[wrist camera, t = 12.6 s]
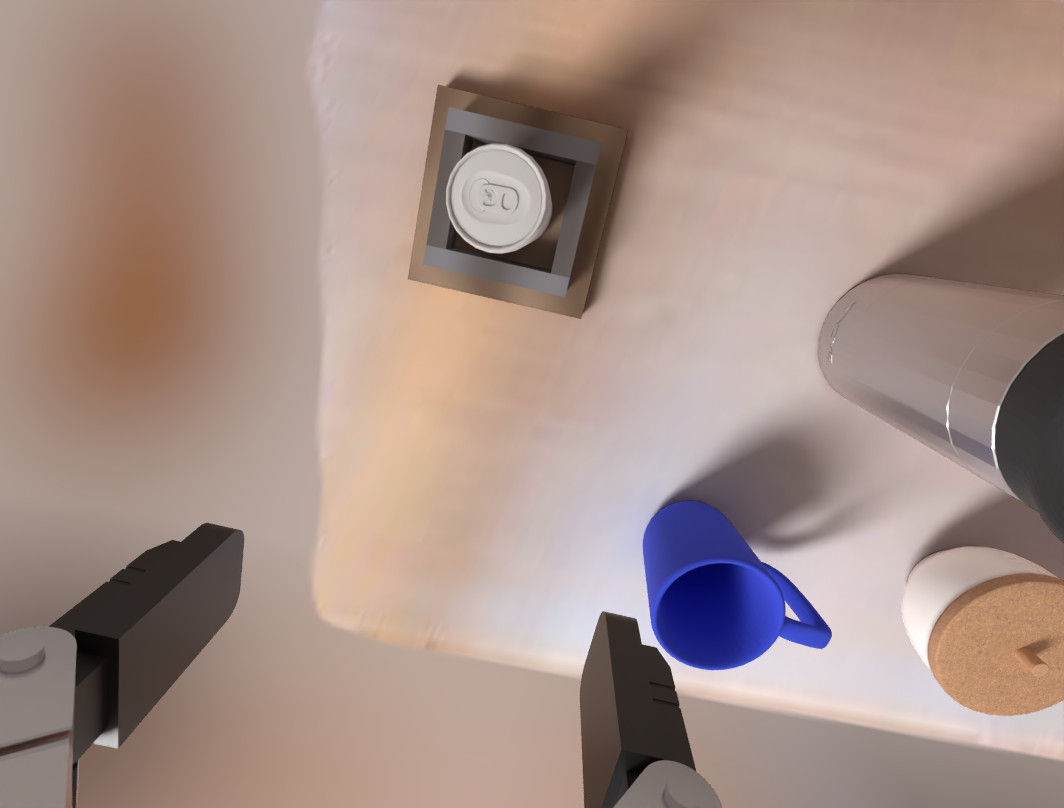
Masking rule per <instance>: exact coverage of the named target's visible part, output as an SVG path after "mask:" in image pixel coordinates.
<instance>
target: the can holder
mask: <svg viewBox="0 0 1064 808" xmlns="http://www.w3.org/2000/svg"><path fill="white" fill-rule="evenodd" d="M627 132H628V129H623V128H619V127H615V126H611V125H606V124H602V123H598V122H594V121H589V120H585V119H581V118H577V117H573V116H568V115H564V114H560V113H556V112H551V111H547V110H543V109H539V108H534V107H530V106H526V105H522V104H518V103H513V102H509V101H505V100H501V99H496V98H492V97H488V96H484V95H479V94H475V93H471V92H467V91H463V90H458V89H454V88H450V87H446V86H441V85H438V88H437V94H436V100H435V107H434V113H433V120H432V126H431V133H430V139H429V146H428V152H427V159H426V165H425V172H424V178H423V185H422V191H421V198H420V204H419V211H418V217H417V223H416V230H415V236H414V243H413V249H412V256H411V262H410V269H409V275H408V279H409V280H414V281H418V282H422V283H427V284H431V285H435V286H440V287H444V288H448V289H453V290H457V291H462V292H466V293H470V294H475V295H479V296H483V297H488V298H492V299H496V300H501V301H505V302H510V303H514V304H518V305H523V306H527V307H531V308H536V309H540V310H544V311H549V312H553V313H557V314H562V315H566V316H571V317H575V318H579V319H581V318H582V313H583V309H584V305H585V301H586V297H587V293H588V289H589V285H590V281H591V277H592V273H593V269H594V265H595V261H596V257H597V253H598V249H599V245H600V241H601V237H602V233H603V229H604V225H605V221H606V217H607V213H608V209H609V204H610V200H611V196H612V192H613V188H614V184H615V180H616V176H617V172H618V168H619V164H620V160H621V156H622V152H623V148H624V144H625V140H626V136H627ZM492 143H498V144H508V145H511V146H514V147H517V148H519V149H521V150H523V151H524V152H526V153H527V154H528V155H530V156H531V157H532V158H533V159H534V160H535V161H536V162H537V164H538V165H539V166H540V167H541V169H542V171H543V173H544V175H545V177H546V179H547V182H548V186H549V190H550V195H551V201H552V217H551V220H550V223H549V226H548V227H547V229H546V230H545V232H544V233H543V234H542V235H541V236H540V237H539V238H538V239H536V240H535V241H532V242H531V243H530V244H528V245H526V246H524V247H522V248H520V249H518V250H516V251H512V252H508V253H503V254H502V253H489V252H486V251H483V250H480V249H477V248H475V247H474V246H472V245H471V244H469V243H468V242H466V241H465V240H464V239H463V238H462V237H461V235H460V234H459V233H458V232H457V231H456V229H455V228H454V226H453V224H452V222H451V220H450V218H449V214H448V210H447V205H446V188H447V184H448V181H449V177H450V174H451V173H452V171H453V169H454V167H455V166H456V164H457V163H458V162H459V161H460V160H461V159H462V158H463V157H464V156H465V155H466V154H467V153H468V152H470V151H472V150H474V149H476V148H477V147H479V146H483V145H487V144H492Z"/></svg>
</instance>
